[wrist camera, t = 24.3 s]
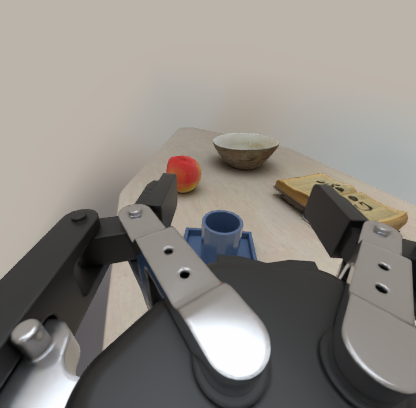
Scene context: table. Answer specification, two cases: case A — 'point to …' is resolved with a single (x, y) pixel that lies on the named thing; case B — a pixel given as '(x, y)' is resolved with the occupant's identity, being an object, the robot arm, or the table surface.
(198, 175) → the apple
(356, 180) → the table surface
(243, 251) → the blue tray
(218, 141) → the bowl
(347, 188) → the book
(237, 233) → the blue cup
